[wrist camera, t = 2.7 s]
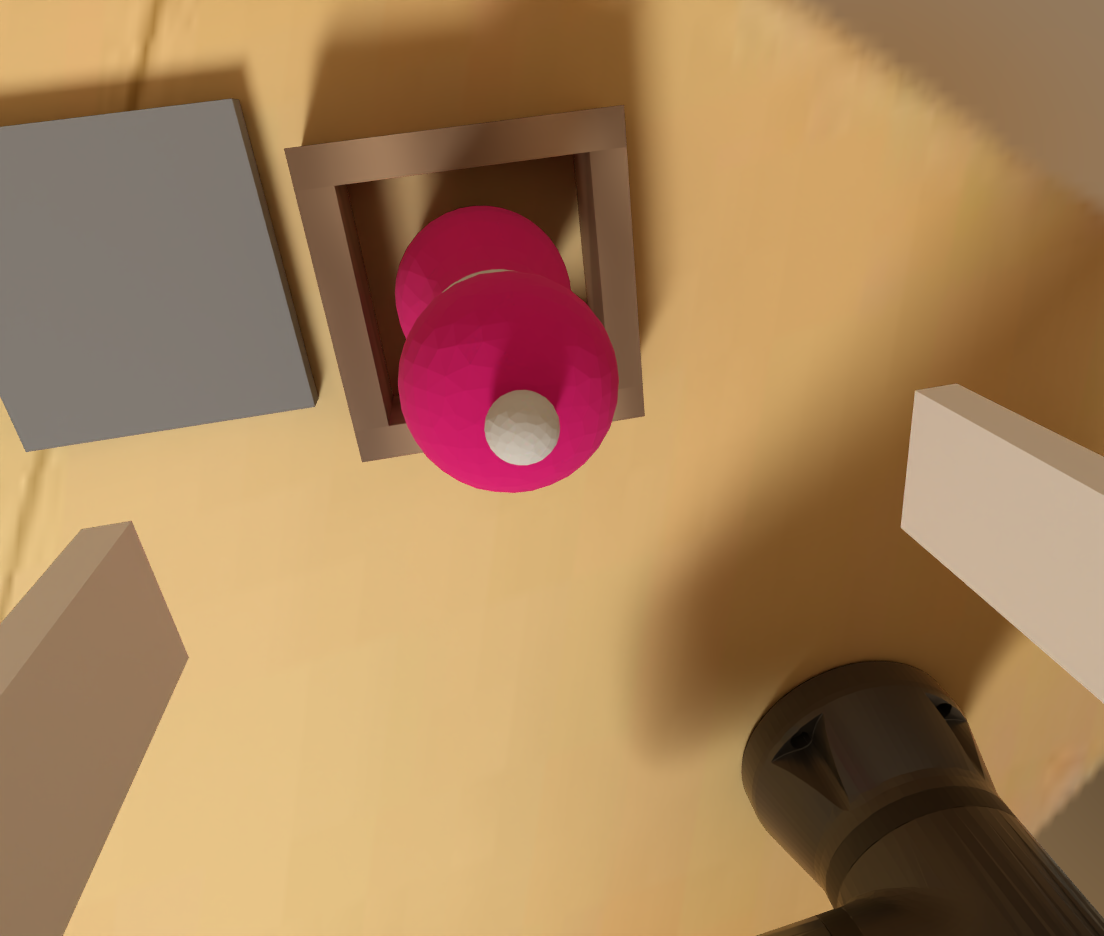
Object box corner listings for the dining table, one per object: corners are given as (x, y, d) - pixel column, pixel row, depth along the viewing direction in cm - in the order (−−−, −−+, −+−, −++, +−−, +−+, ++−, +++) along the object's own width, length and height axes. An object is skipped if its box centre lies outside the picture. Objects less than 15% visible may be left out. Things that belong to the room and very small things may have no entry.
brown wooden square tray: (602, 107, 32) (624, 105, 29) (624, 388, 38) (644, 416, 34) (301, 146, 31) (284, 148, 28) (369, 429, 37) (362, 462, 33)
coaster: (238, 99, 30) (231, 98, 29) (318, 398, 36) (315, 406, 35) (-98, 140, 29) (-118, 141, 28) (38, 442, 35) (25, 452, 34)
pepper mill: (390, 200, 33) (336, 288, 15) (553, 193, 34) (690, 268, 16) (408, 359, 36) (382, 594, 18) (557, 349, 37) (676, 563, 19)
